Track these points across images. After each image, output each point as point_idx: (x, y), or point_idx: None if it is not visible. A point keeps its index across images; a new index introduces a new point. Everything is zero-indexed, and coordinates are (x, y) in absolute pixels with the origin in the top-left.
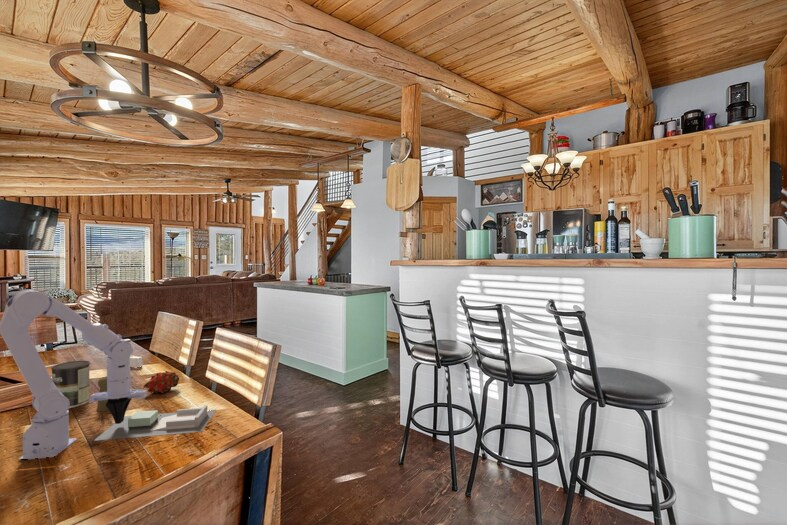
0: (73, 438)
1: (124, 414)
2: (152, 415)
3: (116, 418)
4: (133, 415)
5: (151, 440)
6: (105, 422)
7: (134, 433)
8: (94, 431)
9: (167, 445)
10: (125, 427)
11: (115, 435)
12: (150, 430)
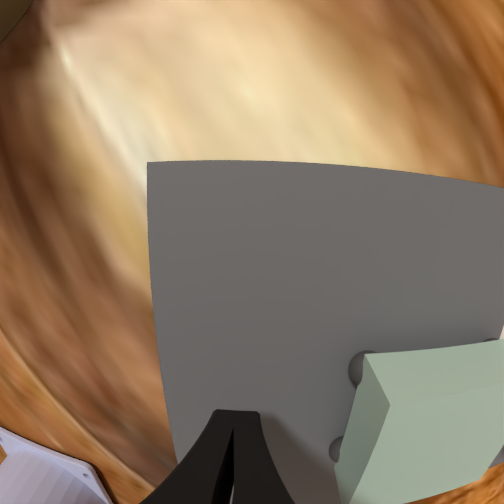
0: (73, 463)
1: (267, 455)
2: (497, 453)
3: (229, 497)
4: (371, 473)
5: (445, 494)
6: (60, 255)
7: None
8: (93, 397)
9: (480, 499)
10: (295, 419)
11: None
12: None
